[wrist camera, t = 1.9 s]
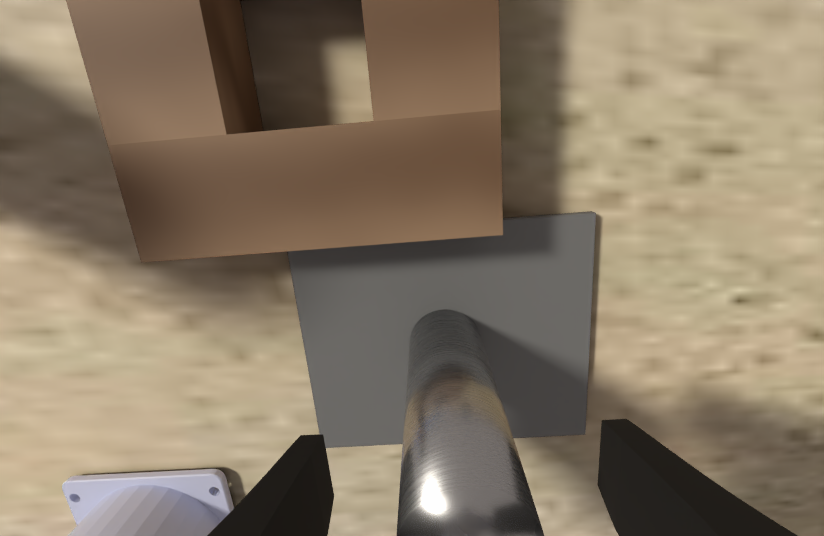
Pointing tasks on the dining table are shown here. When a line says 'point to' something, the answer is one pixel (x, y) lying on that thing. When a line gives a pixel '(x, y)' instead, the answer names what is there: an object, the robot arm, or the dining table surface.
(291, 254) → the mat
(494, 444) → the peg
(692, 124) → the dining table surface
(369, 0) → the hole block
